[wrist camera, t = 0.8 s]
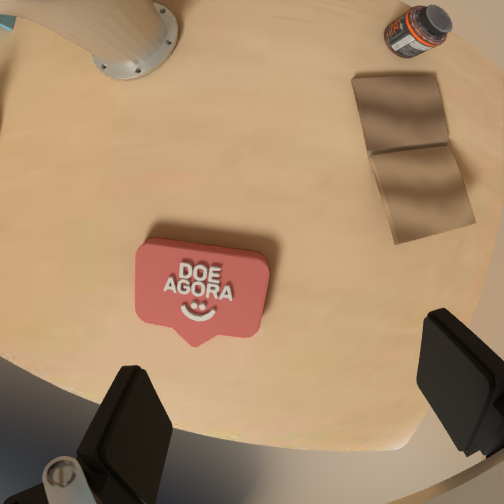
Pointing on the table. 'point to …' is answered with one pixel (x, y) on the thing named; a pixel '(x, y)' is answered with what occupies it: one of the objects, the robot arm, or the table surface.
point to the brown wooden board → (400, 113)
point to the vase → (7, 21)
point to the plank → (422, 192)
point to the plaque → (200, 289)
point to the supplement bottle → (418, 31)
